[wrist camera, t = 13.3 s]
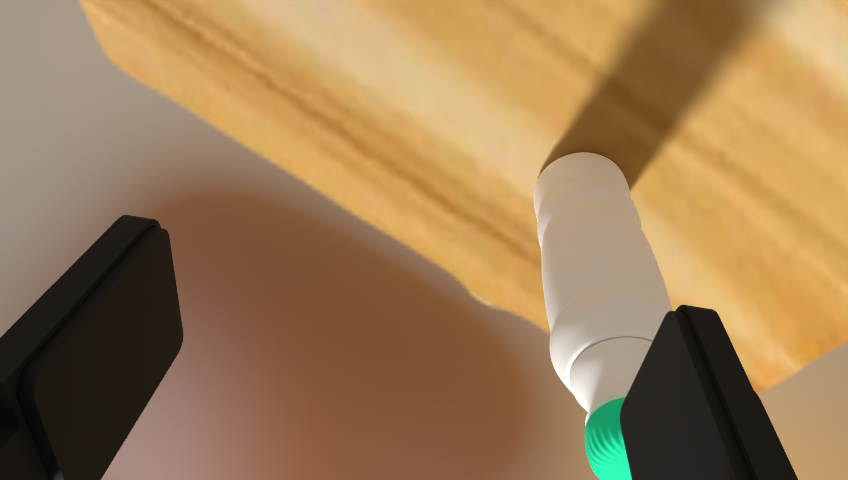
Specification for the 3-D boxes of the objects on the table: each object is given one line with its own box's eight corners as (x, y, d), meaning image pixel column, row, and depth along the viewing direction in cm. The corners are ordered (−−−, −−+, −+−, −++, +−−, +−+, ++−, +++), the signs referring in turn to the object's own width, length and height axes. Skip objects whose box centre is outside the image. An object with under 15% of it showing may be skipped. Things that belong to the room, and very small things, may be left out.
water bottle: (533, 150, 45) (565, 414, 24) (629, 146, 44) (747, 417, 24) (532, 228, 49) (559, 512, 28) (621, 226, 48) (716, 518, 27)
